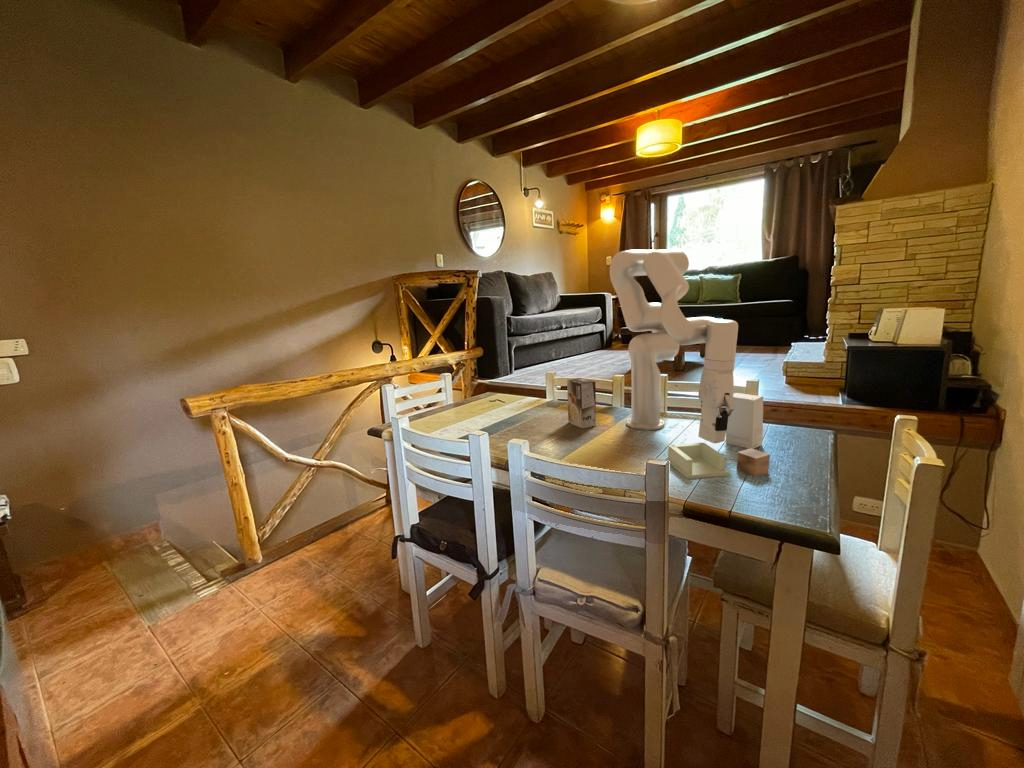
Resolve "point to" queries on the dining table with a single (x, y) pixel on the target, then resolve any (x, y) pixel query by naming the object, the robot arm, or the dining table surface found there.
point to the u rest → (697, 460)
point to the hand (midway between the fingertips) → (713, 425)
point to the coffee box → (581, 402)
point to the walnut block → (753, 462)
